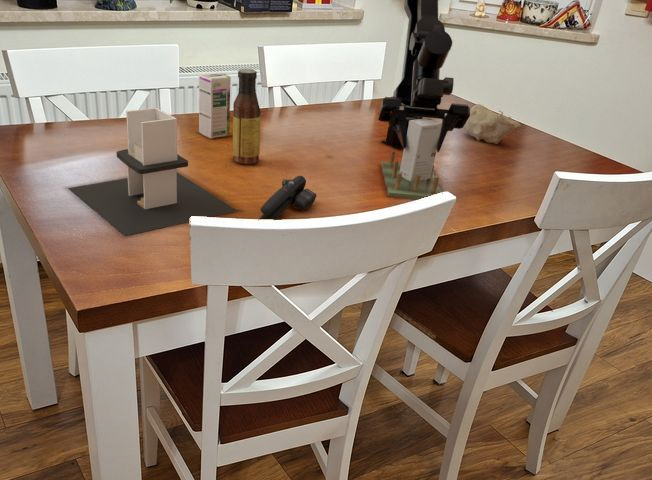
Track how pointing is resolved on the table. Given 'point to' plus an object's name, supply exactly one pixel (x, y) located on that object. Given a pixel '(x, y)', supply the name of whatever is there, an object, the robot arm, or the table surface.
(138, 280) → the table surface
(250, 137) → the sauce bottle
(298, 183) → the can opener
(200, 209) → the box holder stand
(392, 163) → the plate rack
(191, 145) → the table surface
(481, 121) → the beige lumpy chunk
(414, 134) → the cosmetic box
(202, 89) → the syrup box
